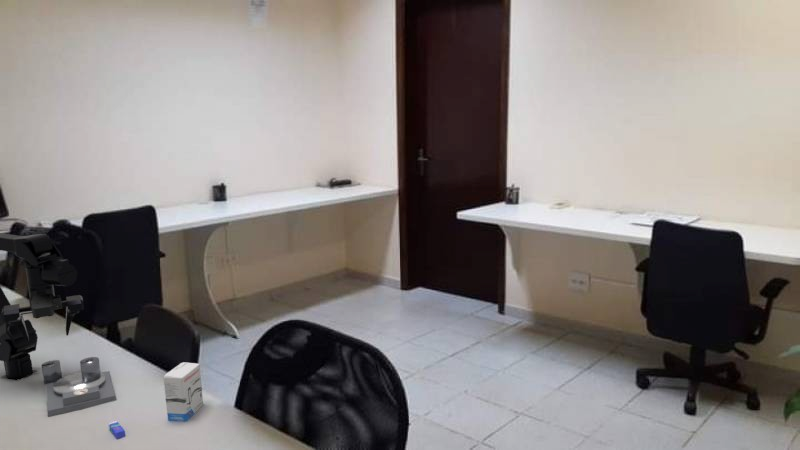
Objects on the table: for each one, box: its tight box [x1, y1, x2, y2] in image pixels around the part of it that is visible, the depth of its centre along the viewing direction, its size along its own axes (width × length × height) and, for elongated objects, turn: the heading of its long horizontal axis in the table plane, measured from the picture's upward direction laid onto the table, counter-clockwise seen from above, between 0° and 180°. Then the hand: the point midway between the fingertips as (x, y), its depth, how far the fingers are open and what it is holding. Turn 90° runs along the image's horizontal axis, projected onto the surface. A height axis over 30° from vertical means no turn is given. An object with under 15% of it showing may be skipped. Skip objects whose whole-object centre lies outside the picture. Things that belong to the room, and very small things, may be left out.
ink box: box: [163, 361, 204, 423], centre depth 147 cm, size 9×5×12 cm, turn 168°
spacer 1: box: [41, 359, 64, 385], centre depth 167 cm, size 4×4×5 cm
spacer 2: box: [79, 356, 102, 382], centre depth 161 cm, size 4×4×5 cm
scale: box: [46, 370, 117, 417], centre depth 159 cm, size 17×15×4 cm
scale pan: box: [53, 371, 105, 394], centre depth 160 cm, size 12×12×1 cm
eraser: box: [108, 420, 126, 440], centre depth 140 cm, size 2×6×2 cm, turn 40°
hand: (47, 338), depth 165 cm, fingers open, 9 cm apart
